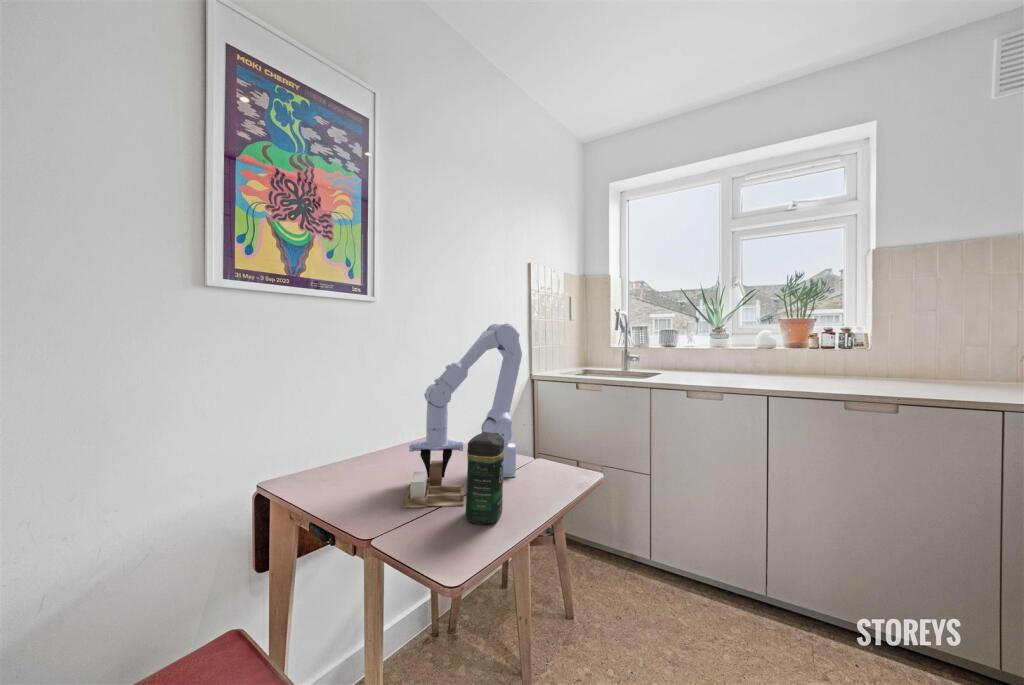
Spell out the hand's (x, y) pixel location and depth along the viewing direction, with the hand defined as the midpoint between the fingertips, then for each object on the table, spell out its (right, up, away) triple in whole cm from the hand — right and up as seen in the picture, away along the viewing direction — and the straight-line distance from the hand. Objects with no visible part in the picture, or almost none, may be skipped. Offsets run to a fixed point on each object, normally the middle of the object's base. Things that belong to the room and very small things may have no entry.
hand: (436, 476), depth 110 cm
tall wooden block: (0, -1, 0) cm, 1 cm away
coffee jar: (+15, -3, -20) cm, 25 cm away
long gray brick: (-2, -1, -11) cm, 11 cm away
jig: (+2, -2, -11) cm, 11 cm away
